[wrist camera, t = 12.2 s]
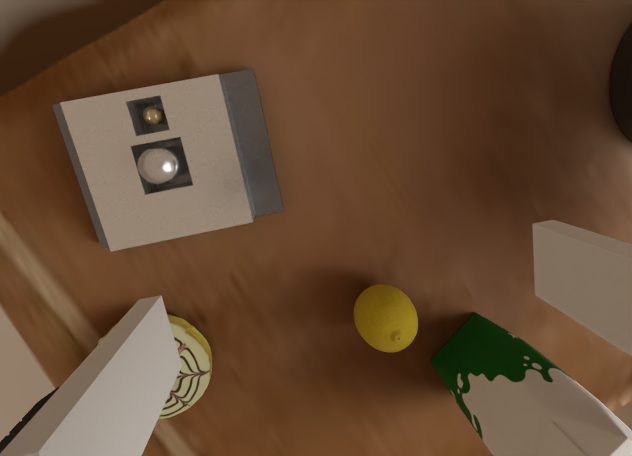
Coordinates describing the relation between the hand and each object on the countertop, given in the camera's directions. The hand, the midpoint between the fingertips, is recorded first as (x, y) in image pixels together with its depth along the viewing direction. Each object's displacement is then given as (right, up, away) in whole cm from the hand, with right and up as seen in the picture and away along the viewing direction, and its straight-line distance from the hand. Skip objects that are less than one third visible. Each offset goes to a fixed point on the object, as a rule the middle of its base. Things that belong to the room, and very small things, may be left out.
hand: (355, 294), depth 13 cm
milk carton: (+16, -11, +28) cm, 34 cm away
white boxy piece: (-13, +8, +19) cm, 24 cm away
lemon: (+4, -5, +25) cm, 26 cm away
